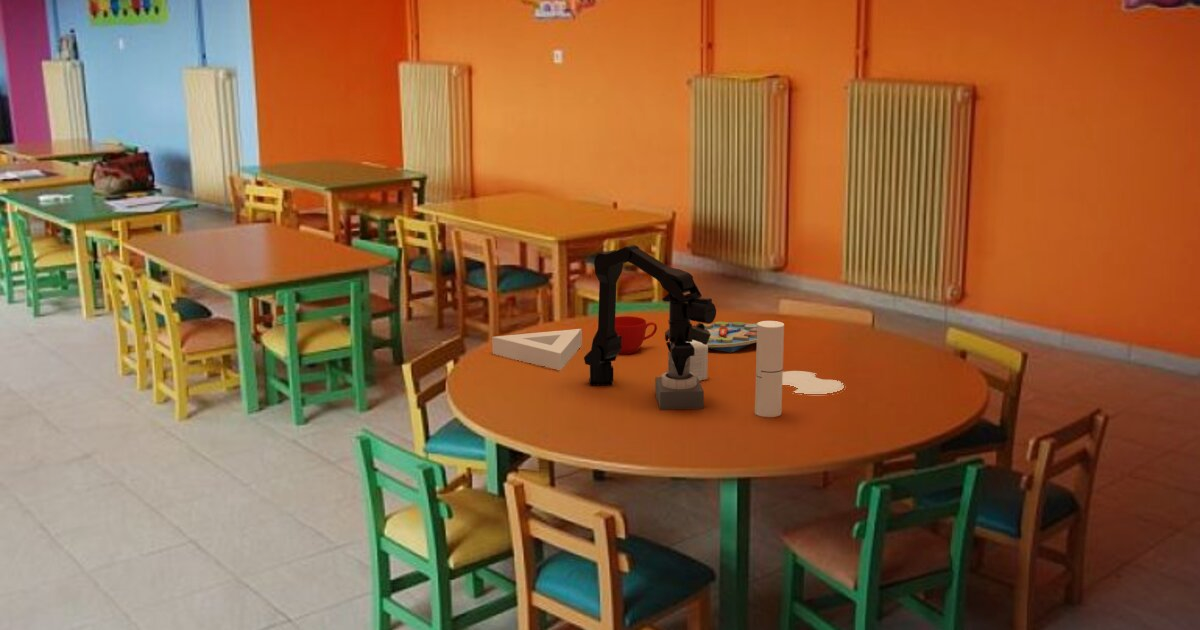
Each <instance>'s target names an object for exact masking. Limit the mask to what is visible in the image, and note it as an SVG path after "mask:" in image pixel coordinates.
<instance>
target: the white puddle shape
mask: <svg viewBox="0 0 1200 630" xmlns="http://www.w3.org/2000/svg"><path fill="white" fill-rule="evenodd" d="M815 374H816V375H817V373H815V372H811V371H806V370H805V371H804V370H802V371H801V370H788V371H787V370H786V371H783V377H782V385H790V386H789V387H791V386H794V387H796V388H798V389H796V388H795V390H794V391H793V392H795V393H804V394H827V393H833V392H837V391H840V390H842V389H843V388H844V385H845V384H844V383H843V382H842V381H840V380H838V381H837V379H836V380H835V379H825V378H823V379H822V378H819V377H816V375H815ZM841 382H842V383H841ZM843 384H844V385H843ZM794 387H793V388H794Z"/></svg>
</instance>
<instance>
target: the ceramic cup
mask: <svg viewBox="0 0 1200 630" xmlns="http://www.w3.org/2000/svg"><path fill="white" fill-rule="evenodd" d="M651 325H653V326H654V329H653V331H652V332H651V333H650V334H649V335H646V330H647V328H648V327H649V326H651ZM615 331H616V333H617V335H618V336H622V341H621V346H622V349H620V352H619V354H621V355H622V354H626V355H630V354H634V353H636V352H637V351H638V350H639V349H640V347H641V346H642V344H643V342H644V341H645V340H647V339H650V338H651V337H652V338H653V336H654V335H655V334H656V332H657V331H658V326H657V324H656V322H652V321H650V322H648V323H647V320H646V319H644V318H643V317H640V316H629V315H628V316H627V315H626V316H615Z"/></svg>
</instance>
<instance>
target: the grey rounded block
mask: <svg viewBox="0 0 1200 630" xmlns="http://www.w3.org/2000/svg"><path fill="white" fill-rule="evenodd" d="M667 358H668V359H667V363H668V364H667V365H668V370H667V372H668V378H670V379H676V380H683V379H689V378H690V357H689V358H687V360H686V364H685V367H684V371H683V375H682V376H679V375H678V373H677V370H676V367H675V365H674V362H673V359H672V357H671V354H670V352H669V351H668V357H667Z"/></svg>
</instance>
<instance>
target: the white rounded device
mask: <svg viewBox="0 0 1200 630" xmlns="http://www.w3.org/2000/svg"><path fill="white" fill-rule="evenodd" d="M690 343H691V344H692V345H693V347H694V349H695V354H694V356H690V372H692V373H695V374H696V376H697V377H698V379H699V382H700V381H705V380H706V379H708V363H709V361H708V360H709V358H708V356H709V349H708V346H707V345H705V344H702V343H701V342H698V341H695V340H692V342H690Z"/></svg>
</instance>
